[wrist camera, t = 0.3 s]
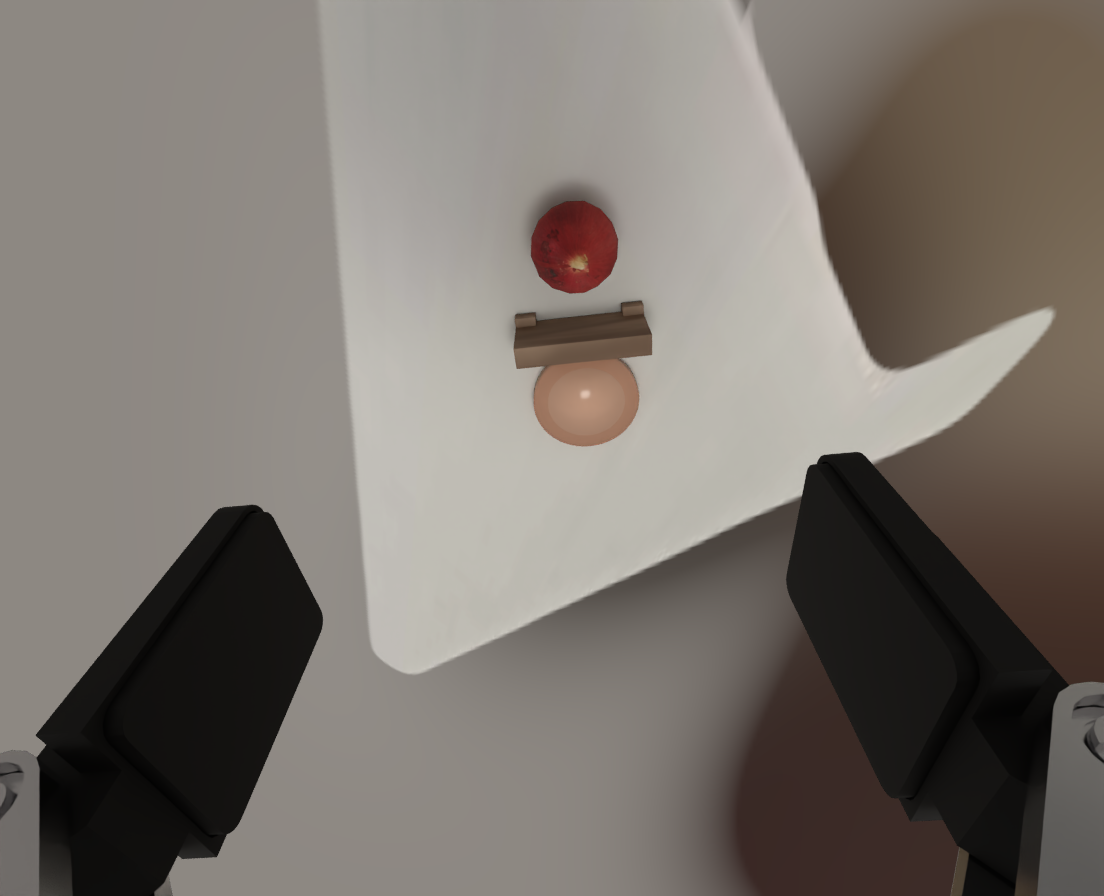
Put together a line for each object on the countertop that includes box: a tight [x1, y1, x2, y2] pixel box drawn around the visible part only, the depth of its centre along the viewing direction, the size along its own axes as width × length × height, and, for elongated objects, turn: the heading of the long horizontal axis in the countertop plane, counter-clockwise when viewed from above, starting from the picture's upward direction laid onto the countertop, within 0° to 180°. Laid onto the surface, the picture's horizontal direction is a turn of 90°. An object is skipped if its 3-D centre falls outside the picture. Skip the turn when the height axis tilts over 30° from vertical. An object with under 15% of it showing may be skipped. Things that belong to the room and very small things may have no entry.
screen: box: [514, 301, 652, 369], centre depth 41 cm, size 3×10×5 cm, turn 96°
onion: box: [531, 201, 618, 293], centre depth 36 cm, size 6×6×8 cm
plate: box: [534, 358, 639, 446], centre depth 46 cm, size 9×9×1 cm
